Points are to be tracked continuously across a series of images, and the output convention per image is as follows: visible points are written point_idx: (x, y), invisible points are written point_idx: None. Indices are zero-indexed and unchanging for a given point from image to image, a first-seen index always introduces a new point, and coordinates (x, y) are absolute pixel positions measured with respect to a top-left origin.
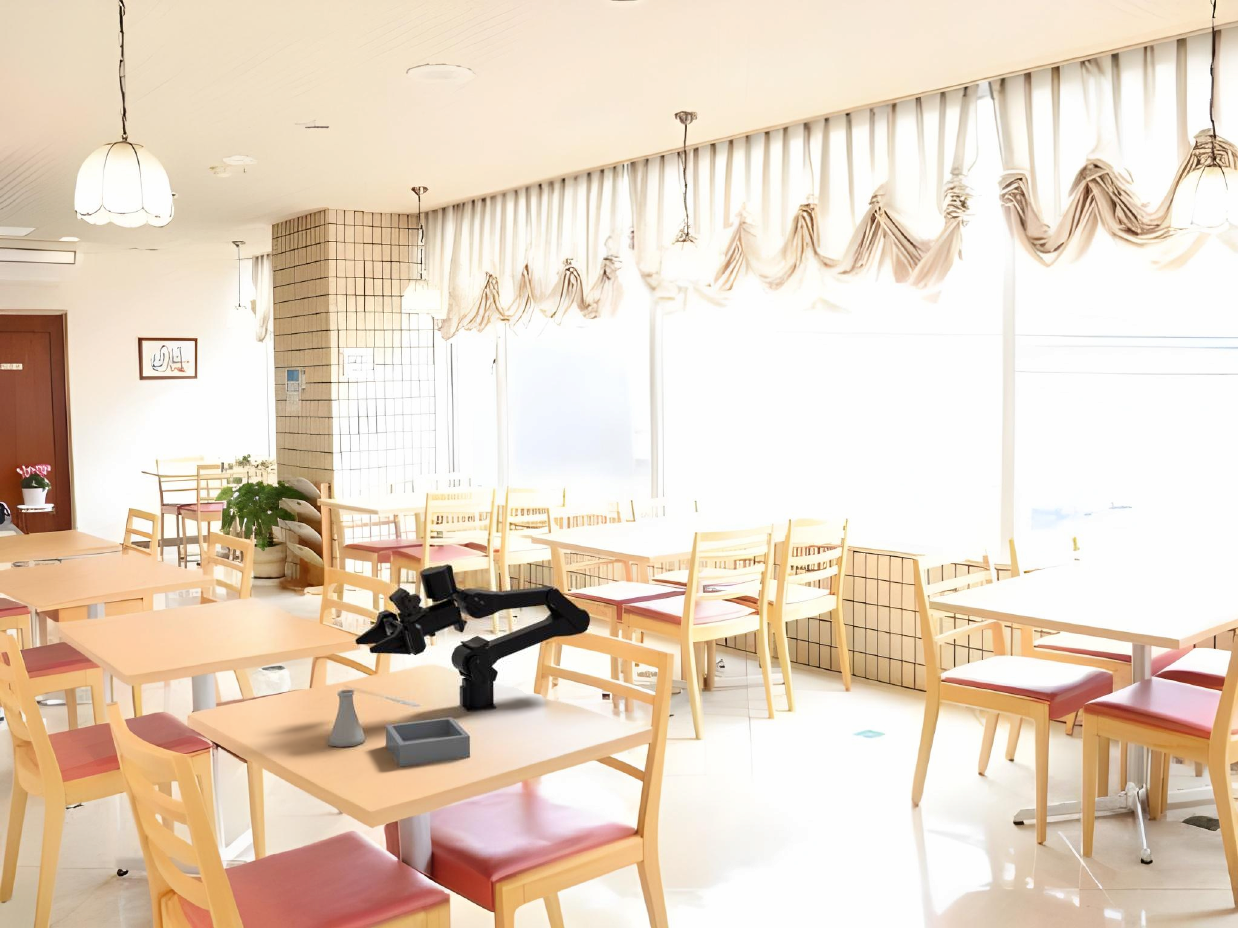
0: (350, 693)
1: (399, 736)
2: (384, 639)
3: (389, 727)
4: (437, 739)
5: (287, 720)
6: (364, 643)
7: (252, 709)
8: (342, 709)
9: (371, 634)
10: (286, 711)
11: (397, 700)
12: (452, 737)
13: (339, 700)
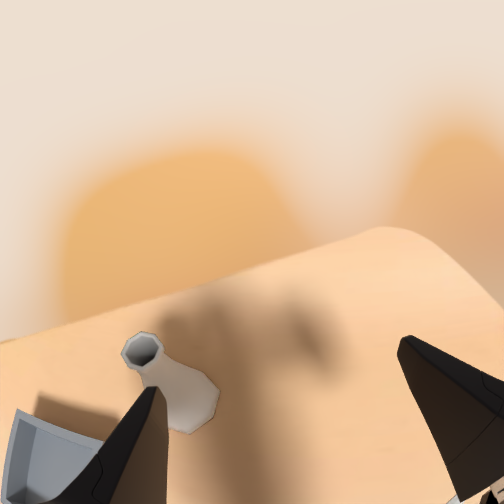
0: (122, 356)
1: (41, 428)
2: (122, 458)
3: (87, 440)
4: (7, 461)
5: (363, 314)
6: (411, 388)
7: (424, 268)
8: (147, 360)
9: (454, 405)
10: (415, 309)
11: (455, 498)
12: (4, 481)
13: (148, 345)
